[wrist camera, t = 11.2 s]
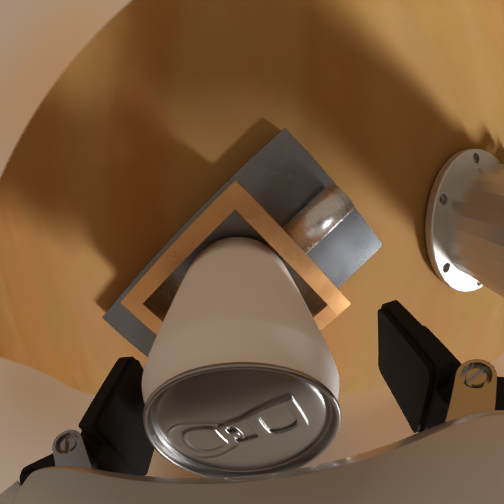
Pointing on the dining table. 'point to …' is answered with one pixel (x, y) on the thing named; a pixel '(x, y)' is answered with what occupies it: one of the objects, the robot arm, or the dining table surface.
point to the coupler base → (260, 238)
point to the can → (239, 369)
